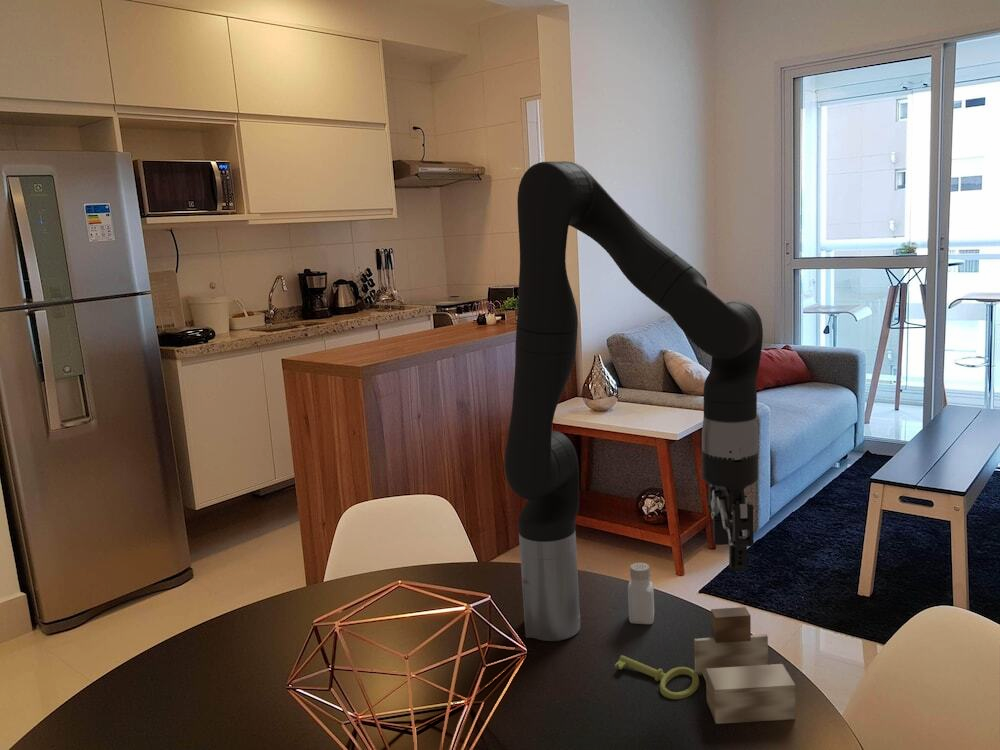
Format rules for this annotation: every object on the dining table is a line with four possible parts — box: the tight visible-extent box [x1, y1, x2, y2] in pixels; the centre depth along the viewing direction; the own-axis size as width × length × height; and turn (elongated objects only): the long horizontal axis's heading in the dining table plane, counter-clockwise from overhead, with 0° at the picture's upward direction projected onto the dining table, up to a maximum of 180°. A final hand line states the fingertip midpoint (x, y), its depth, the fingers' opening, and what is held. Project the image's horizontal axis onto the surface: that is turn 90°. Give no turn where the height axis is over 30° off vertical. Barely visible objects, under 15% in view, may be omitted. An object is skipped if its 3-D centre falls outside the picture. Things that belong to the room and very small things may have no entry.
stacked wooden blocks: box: [693, 606, 769, 682], centre depth 117 cm, size 10×6×9 cm, turn 90°
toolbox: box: [705, 663, 796, 725], centre depth 110 cm, size 10×5×5 cm, turn 90°
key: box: [614, 654, 700, 700], centre depth 119 cm, size 7×12×2 cm, turn 70°
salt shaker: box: [627, 562, 655, 625], centre depth 136 cm, size 4×4×10 cm
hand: (729, 556), depth 116 cm, fingers open, 8 cm apart
